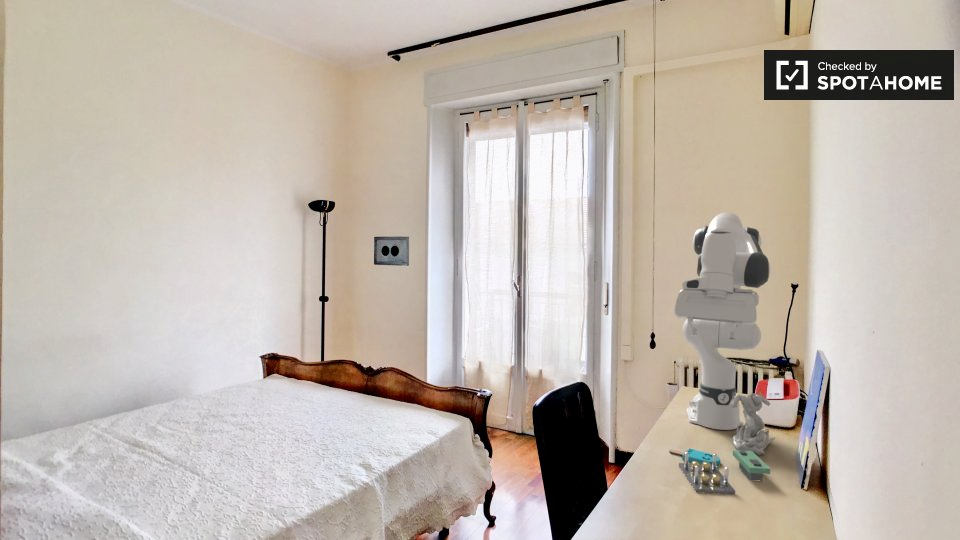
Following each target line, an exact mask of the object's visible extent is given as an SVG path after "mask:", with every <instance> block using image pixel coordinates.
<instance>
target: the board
mask: <svg viewBox="0 0 960 540" xmlns="http://www.w3.org/2000/svg"><path fill="white" fill-rule="evenodd" d="M732 456H733V457H734V458H735V460H736V461H738V463H739V462H740V464H741V465H742V466H743V467H744V468H745V469H746V470H747V471H748V472H749V473H759V474H762V475H763V474H764V475H771V468H770V466H768V465H767V464H766V463H765V462H764V461H763V460H762V459H761V458H760V457H759V455H756V454H755V453H754V452H752V451H741V450H737V449H733V450H732Z"/></svg>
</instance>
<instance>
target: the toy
mask: <svg viewBox="0 0 960 540" xmlns="http://www.w3.org/2000/svg"><path fill="white" fill-rule="evenodd" d="M668 452H670V453H673V454H676V455H681V456H682V458H681V460H682V461H684V460H685V452H688V453H689V460H688V463H692V461H697V462H699V464H703V462H709V463H710V464H711V465H713V454H714V453H709V452H704V451H701V450H696V449H694V448H688V449H687V450H686V451H680V450H677V449H673V448H672V449H671V448H670V449H668ZM719 465H721V458H720V457H719V456H717V464H716V466H718V467H719Z"/></svg>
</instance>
